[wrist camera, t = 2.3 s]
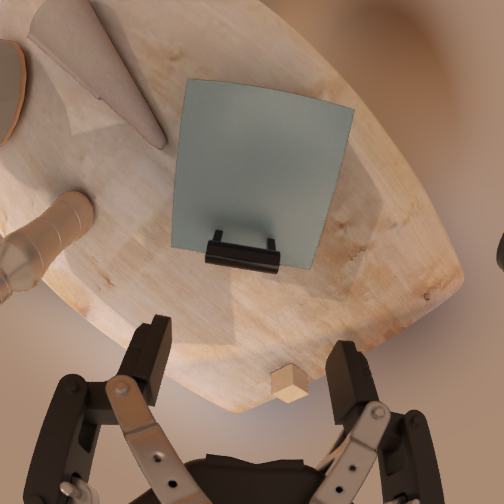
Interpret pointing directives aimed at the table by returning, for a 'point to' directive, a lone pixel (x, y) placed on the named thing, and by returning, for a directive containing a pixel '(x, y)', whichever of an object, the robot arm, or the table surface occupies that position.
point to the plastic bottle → (42, 242)
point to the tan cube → (289, 383)
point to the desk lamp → (10, 86)
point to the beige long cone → (92, 61)
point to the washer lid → (255, 174)
